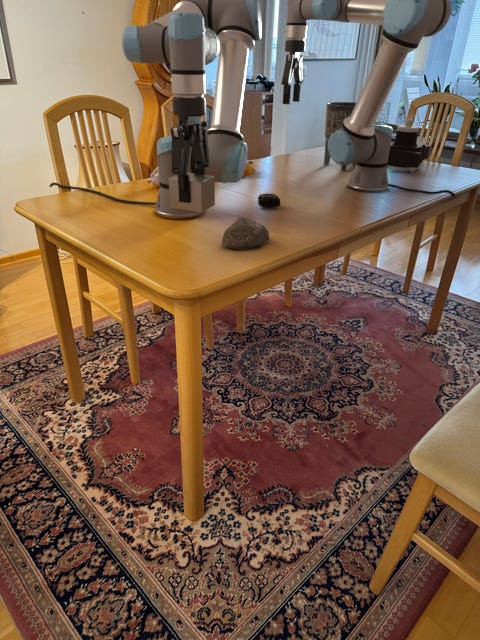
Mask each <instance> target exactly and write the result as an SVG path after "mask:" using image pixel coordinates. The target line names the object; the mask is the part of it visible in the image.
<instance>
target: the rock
mask: <svg viewBox="0 0 480 640" xmlns="http://www.w3.org/2000/svg"><path fill="white" fill-rule="evenodd" d="M269 241H270V233H269V230H268V229H267V228H266V226H265V225H263V224H261V223H259V222H256V221H255V220H252V219H247V218H245V217H241V216H238V217H237V218H236V219H235V221H234V222H233V223H232V224H231V225H229V226H228V227H227V228H226V229H225V231H224V233H223V236H222V239H221V244H222V247H224V248H229V249H231V250H245V249H254V248H257V247H259V246H260V245H264V244H266V242H269Z"/></svg>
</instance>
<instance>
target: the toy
mask: <svg viewBox="0 0 480 640" xmlns="http://www.w3.org/2000/svg"><path fill="white" fill-rule="evenodd" d="M255 173H256V169H255V163H254V161H253V160H247V163H246V167H245V171H244V174H243V176H242V178H243V177H245V178H246V177H249V176H252V175H254V174H255Z"/></svg>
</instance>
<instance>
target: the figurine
mask: <svg viewBox="0 0 480 640" xmlns="http://www.w3.org/2000/svg"><path fill="white" fill-rule="evenodd" d="M149 176H150V177H149V178H147V179H146V182H145V183H147V184H152V185H153V186H159V173H158V166H156V168H155V169H154V170H153V171H152V172H151V173H150V175H149Z"/></svg>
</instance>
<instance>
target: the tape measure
mask: <svg viewBox="0 0 480 640" xmlns="http://www.w3.org/2000/svg"><path fill="white" fill-rule="evenodd" d="M257 205H258V206H259V207H260V208H261V207H262V208H266V209H270V208H280V206H281V198H280V197H279V196H278V195H277V194H276V193H269V192H268V193H267V192H265V193H261V194H259V195H258V199H257Z"/></svg>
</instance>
